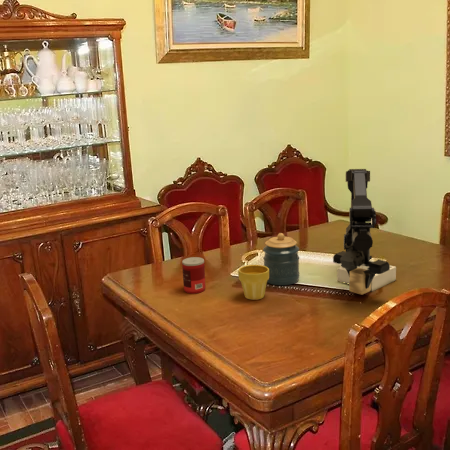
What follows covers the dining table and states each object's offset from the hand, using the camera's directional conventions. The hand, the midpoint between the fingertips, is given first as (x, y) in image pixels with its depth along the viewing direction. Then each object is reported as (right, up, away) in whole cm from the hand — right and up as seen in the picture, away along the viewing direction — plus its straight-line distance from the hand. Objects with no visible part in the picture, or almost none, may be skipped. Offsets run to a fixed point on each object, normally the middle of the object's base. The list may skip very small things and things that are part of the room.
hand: (360, 286), depth 195 cm
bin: (+5, +1, +14) cm, 15 cm away
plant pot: (-35, -4, +4) cm, 36 cm away
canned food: (-56, -3, +13) cm, 57 cm away
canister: (-24, 0, +19) cm, 31 cm away
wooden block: (0, -1, 0) cm, 2 cm away
